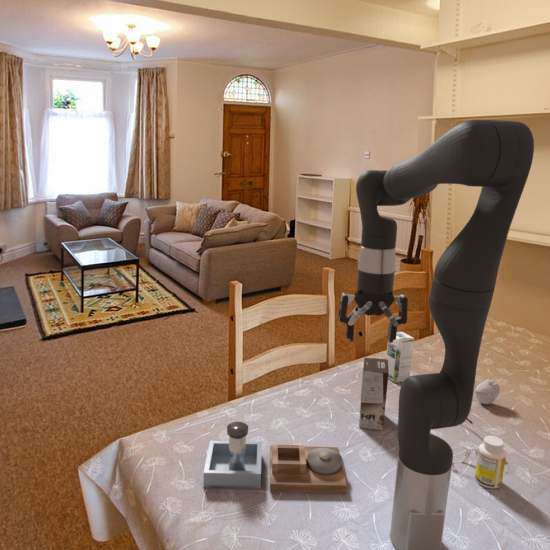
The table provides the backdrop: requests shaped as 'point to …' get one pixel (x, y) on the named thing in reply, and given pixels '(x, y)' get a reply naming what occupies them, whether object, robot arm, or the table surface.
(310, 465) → the block
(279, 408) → the table surface
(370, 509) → the table surface
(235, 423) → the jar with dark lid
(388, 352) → the syrup box
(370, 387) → the coffee box
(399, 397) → the robot arm
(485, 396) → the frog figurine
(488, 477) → the supplement bottle
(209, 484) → the tray
